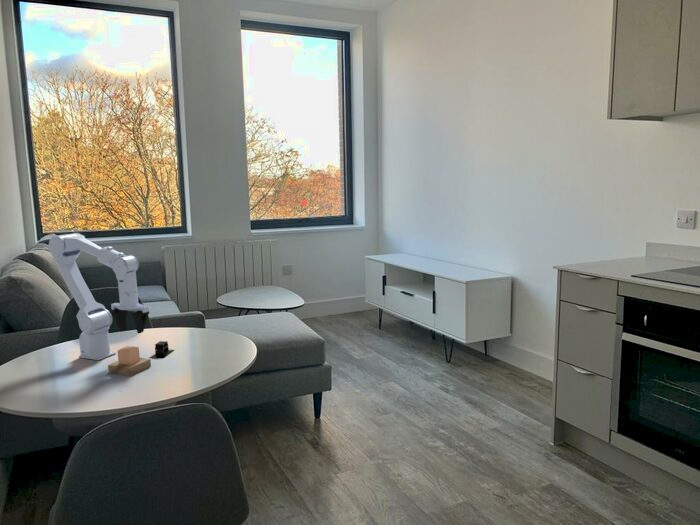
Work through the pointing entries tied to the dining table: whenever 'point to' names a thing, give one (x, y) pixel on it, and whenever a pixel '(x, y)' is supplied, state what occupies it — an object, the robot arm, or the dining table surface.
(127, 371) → the walnut slab
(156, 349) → the black slotted bracket
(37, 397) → the dining table surface
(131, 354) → the terracotta cube
